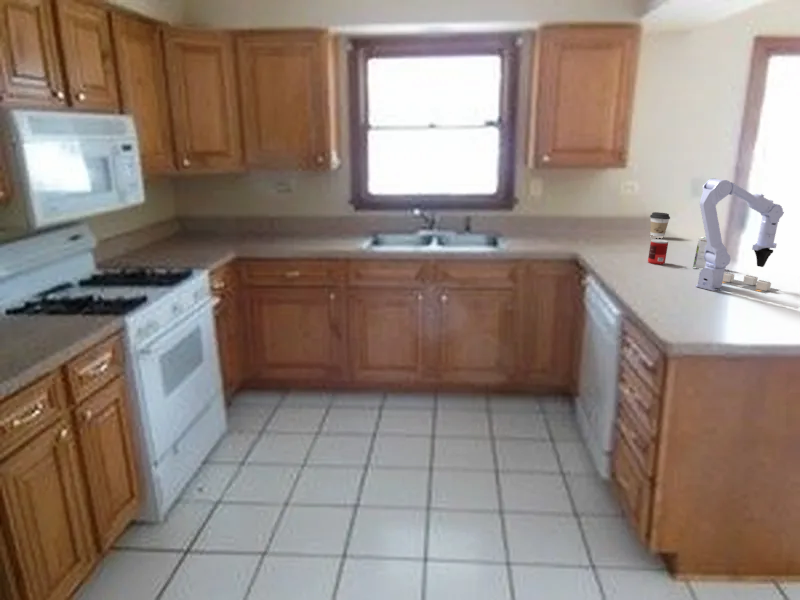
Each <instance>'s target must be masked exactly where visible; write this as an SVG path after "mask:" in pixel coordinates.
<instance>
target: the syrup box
mask: <svg viewBox="0 0 800 600" xmlns="http://www.w3.org/2000/svg"><path fill="white" fill-rule="evenodd" d="M706 246H707V240H706V236H701V237H698V240H697V245H696V250H695V255H694V260H693V266H692V268H693V267H696V268H705V266H706V261H705V260H704V253H705V247H706Z"/></svg>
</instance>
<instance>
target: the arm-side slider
mask: <svg viewBox="0 0 800 600" xmlns="http://www.w3.org/2000/svg"><path fill="white" fill-rule="evenodd" d="M734 278H735V274H734V273H731V272H726V271H724V276H723V281H726V282H733V280H735V279H734Z"/></svg>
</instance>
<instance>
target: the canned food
mask: <svg viewBox="0 0 800 600" xmlns="http://www.w3.org/2000/svg"><path fill="white" fill-rule="evenodd" d="M668 246H669V241H668V240H665V239H652V238H651V240H650V245H649V250H648V258H647V262H648V263H649V264H650V265H651V264H652V265H659V266H661V265H665V263H666V257H667V252H668Z"/></svg>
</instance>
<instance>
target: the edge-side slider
mask: <svg viewBox="0 0 800 600" xmlns="http://www.w3.org/2000/svg"><path fill="white" fill-rule="evenodd" d="M771 286H772V282H771V281H766V280H762V279H758V280H757V284H756V289H760V290H765V291H767V290H770V288H771Z"/></svg>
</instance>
